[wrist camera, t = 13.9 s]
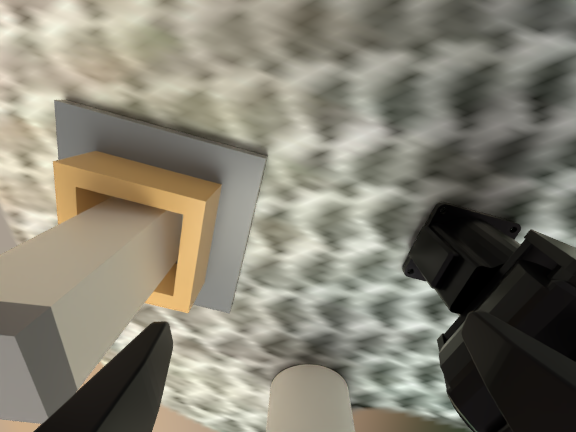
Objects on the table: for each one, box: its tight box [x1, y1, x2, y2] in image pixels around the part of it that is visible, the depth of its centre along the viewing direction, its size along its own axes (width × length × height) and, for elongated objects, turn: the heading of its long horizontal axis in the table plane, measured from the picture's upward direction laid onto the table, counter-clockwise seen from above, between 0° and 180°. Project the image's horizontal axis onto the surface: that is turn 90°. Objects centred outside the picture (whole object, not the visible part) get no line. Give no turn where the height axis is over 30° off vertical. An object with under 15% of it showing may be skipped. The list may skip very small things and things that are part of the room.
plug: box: [0, 196, 183, 424], centre depth 15 cm, size 4×4×12 cm
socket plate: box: [53, 100, 268, 313], centre depth 19 cm, size 14×14×4 cm
